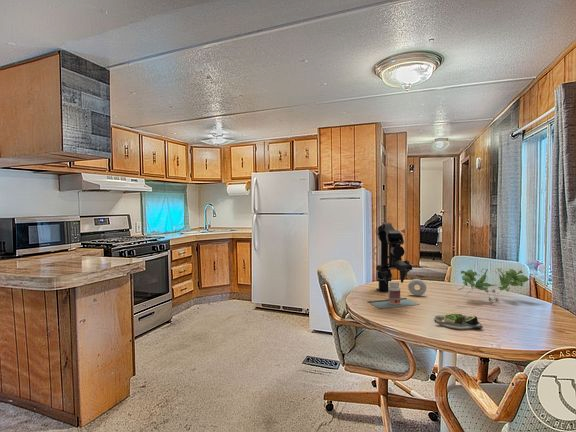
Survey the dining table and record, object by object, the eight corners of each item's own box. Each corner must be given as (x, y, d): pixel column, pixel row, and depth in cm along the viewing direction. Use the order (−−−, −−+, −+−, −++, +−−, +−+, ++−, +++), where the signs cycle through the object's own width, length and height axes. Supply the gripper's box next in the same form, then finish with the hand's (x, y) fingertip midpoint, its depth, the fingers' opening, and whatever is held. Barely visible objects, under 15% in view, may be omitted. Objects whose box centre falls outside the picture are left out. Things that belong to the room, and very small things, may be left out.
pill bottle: (402, 304, 174) (402, 283, 174) (392, 305, 172) (392, 284, 172) (396, 301, 180) (396, 280, 180) (386, 302, 178) (386, 281, 178)
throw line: (367, 302, 180) (367, 301, 180) (405, 298, 186) (405, 297, 186) (368, 302, 179) (368, 302, 179) (406, 299, 185) (406, 298, 185)
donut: (426, 295, 192) (426, 278, 191) (426, 297, 188) (426, 280, 188) (408, 294, 195) (408, 277, 195) (408, 295, 192) (408, 279, 192)
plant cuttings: (453, 309, 186) (469, 294, 168) (445, 282, 196) (459, 264, 178) (516, 309, 185) (539, 294, 167) (504, 281, 195) (525, 264, 177)
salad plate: (445, 333, 135) (445, 322, 135) (423, 319, 153) (423, 309, 153) (489, 331, 137) (489, 320, 137) (462, 317, 155) (462, 307, 154)
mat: (369, 303, 178) (369, 302, 178) (408, 299, 184) (408, 299, 184) (379, 308, 168) (379, 308, 168) (419, 304, 174) (419, 304, 174)
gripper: (387, 257, 165) (387, 288, 165) (418, 255, 170) (419, 285, 170) (375, 254, 176) (375, 283, 176) (405, 253, 181) (406, 281, 181)
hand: (394, 283), depth 176 cm, fingers open, 9 cm apart
